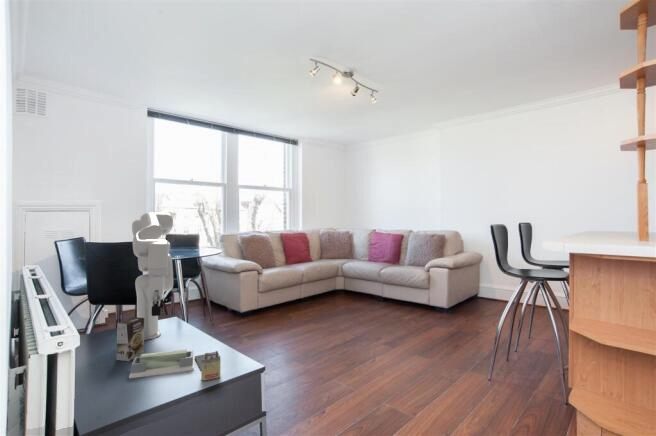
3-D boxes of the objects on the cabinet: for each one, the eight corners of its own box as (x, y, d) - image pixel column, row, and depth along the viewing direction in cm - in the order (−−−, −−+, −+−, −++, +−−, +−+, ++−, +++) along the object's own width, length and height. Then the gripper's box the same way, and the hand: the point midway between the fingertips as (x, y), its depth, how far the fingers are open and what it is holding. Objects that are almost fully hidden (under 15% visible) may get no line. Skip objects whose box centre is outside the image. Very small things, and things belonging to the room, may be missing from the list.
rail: (141, 366, 138) (141, 354, 138) (186, 361, 144) (186, 349, 144) (139, 370, 135) (139, 357, 135) (185, 364, 140) (186, 352, 140)
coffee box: (128, 361, 145) (129, 323, 144) (116, 360, 146) (116, 322, 146) (144, 353, 154) (144, 317, 153) (132, 351, 155) (132, 316, 155)
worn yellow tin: (201, 382, 128) (202, 356, 128) (200, 377, 132) (200, 352, 131) (221, 378, 132) (221, 352, 132) (219, 374, 135) (219, 349, 135)
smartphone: (200, 370, 137) (193, 356, 150) (200, 372, 137) (193, 358, 150) (218, 366, 140) (210, 353, 153) (218, 368, 141) (210, 355, 153)
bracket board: (134, 366, 141) (134, 355, 140) (194, 358, 148) (194, 348, 148) (129, 378, 130) (129, 366, 130) (193, 370, 138) (193, 359, 138)
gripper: (151, 267, 149) (150, 306, 150) (144, 276, 133) (144, 319, 134) (169, 267, 152) (169, 304, 153) (165, 275, 136) (165, 317, 136)
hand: (157, 311), depth 143 cm, fingers open, 9 cm apart
